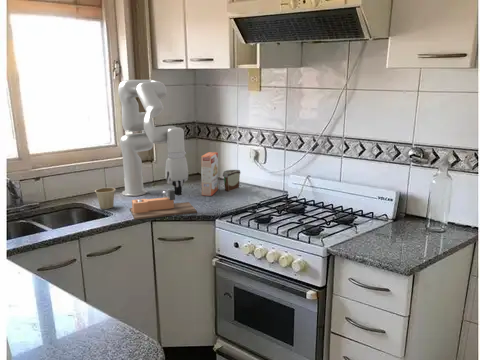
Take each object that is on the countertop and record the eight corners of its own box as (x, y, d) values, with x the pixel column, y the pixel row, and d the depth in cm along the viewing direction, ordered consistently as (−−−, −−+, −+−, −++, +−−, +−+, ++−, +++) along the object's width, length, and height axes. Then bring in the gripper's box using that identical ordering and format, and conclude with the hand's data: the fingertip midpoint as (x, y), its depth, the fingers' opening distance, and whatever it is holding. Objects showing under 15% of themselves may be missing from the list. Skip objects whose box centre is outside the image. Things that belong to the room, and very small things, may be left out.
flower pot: (99, 211, 219) (98, 193, 217) (93, 206, 226) (92, 189, 224) (119, 208, 224) (118, 190, 222) (113, 203, 231) (111, 186, 229)
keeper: (161, 193, 224) (161, 185, 223) (168, 193, 225) (168, 184, 224) (169, 200, 212) (168, 191, 211) (175, 199, 214) (175, 190, 213)
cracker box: (212, 196, 243) (211, 156, 238) (201, 195, 244) (200, 156, 239) (219, 189, 256) (218, 151, 251) (208, 189, 257) (207, 151, 252)
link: (134, 213, 212) (133, 203, 211) (132, 209, 217) (131, 200, 216) (174, 208, 218) (174, 199, 217) (171, 205, 223) (171, 196, 222)
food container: (231, 186, 264) (231, 168, 262) (240, 187, 261) (240, 169, 258) (218, 190, 254) (217, 172, 252) (227, 192, 251) (226, 173, 249)
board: (130, 210, 220) (129, 208, 220) (188, 203, 229) (188, 201, 229) (134, 219, 205) (134, 217, 205) (196, 212, 214) (196, 210, 214)
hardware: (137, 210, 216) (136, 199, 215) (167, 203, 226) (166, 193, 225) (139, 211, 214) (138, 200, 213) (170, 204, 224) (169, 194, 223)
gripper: (184, 152, 219) (186, 190, 223) (157, 156, 209) (160, 196, 213) (194, 154, 214) (196, 193, 218) (167, 158, 204) (169, 199, 208)
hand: (178, 194), depth 216 cm, fingers closed
